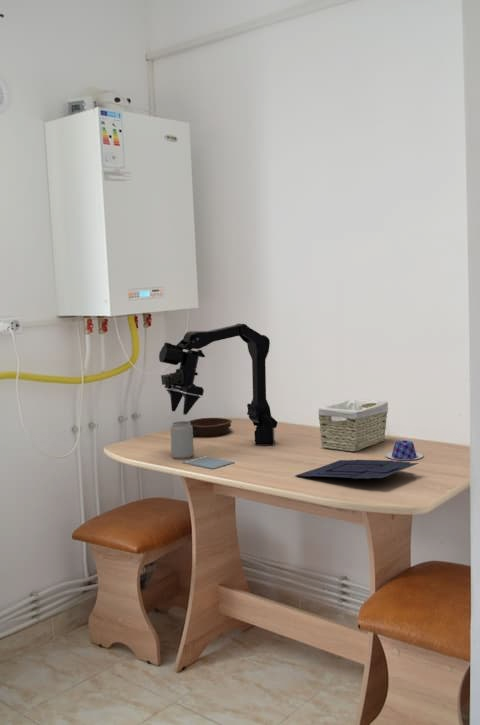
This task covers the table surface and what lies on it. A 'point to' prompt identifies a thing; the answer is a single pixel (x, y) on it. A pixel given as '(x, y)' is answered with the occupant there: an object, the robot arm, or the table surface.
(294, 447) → the table surface
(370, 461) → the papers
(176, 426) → the can
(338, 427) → the storage basket
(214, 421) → the dish
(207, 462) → the mat
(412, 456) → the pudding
